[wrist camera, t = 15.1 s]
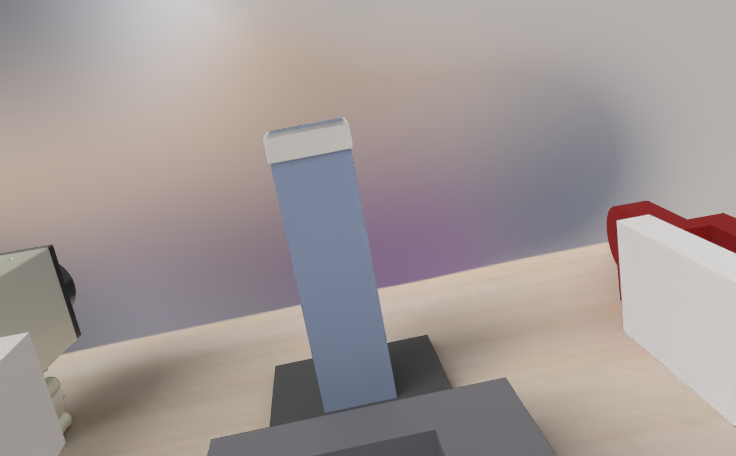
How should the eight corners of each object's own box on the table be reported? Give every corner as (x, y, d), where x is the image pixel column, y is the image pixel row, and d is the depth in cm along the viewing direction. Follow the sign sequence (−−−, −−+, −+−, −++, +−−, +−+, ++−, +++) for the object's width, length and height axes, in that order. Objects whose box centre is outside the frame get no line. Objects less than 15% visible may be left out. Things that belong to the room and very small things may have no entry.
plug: (322, 414, 35) (262, 139, 31) (321, 378, 39) (267, 131, 35) (399, 398, 35) (348, 123, 31) (389, 363, 39) (343, 117, 36)
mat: (269, 466, 32) (267, 456, 32) (277, 374, 42) (275, 366, 42) (465, 424, 33) (463, 414, 33) (428, 343, 42) (427, 334, 42)
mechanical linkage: (807, 333, 36) (806, 247, 35) (679, 355, 36) (673, 271, 35) (669, 250, 51) (665, 189, 50) (579, 266, 51) (573, 205, 50)
